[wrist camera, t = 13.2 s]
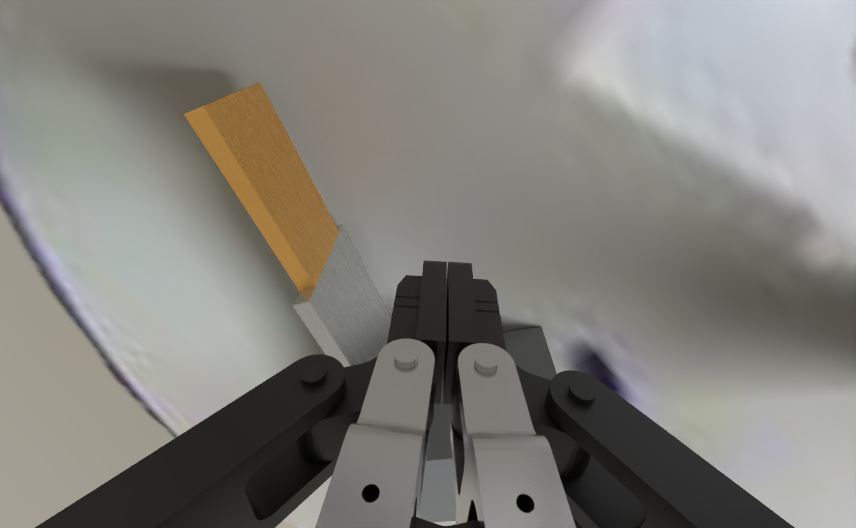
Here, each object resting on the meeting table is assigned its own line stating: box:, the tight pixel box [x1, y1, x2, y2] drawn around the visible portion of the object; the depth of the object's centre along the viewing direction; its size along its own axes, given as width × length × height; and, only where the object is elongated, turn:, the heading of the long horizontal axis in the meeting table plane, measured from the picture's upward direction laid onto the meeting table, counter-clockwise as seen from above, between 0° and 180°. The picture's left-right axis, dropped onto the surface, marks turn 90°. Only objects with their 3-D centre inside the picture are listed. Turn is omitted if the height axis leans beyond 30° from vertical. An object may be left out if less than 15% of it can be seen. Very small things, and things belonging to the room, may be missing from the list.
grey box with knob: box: [419, 327, 556, 522], centre depth 26 cm, size 12×7×10 cm, turn 102°
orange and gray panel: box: [184, 82, 391, 367], centre depth 20 cm, size 19×1×8 cm, turn 19°
